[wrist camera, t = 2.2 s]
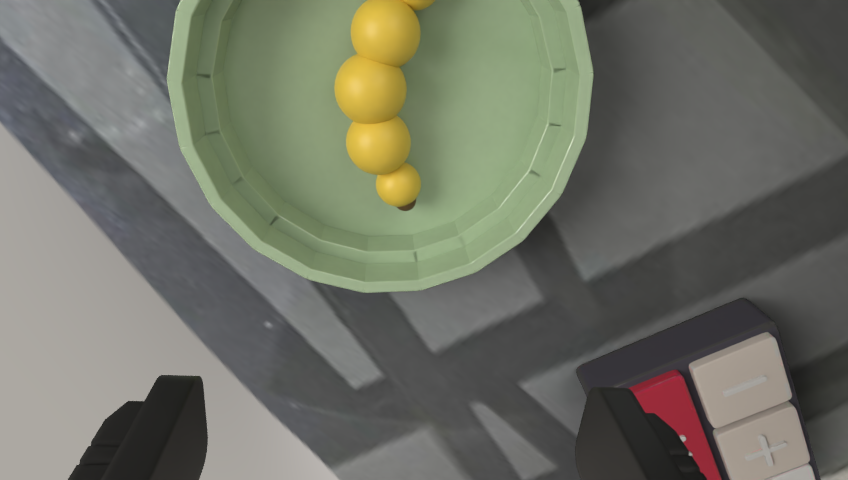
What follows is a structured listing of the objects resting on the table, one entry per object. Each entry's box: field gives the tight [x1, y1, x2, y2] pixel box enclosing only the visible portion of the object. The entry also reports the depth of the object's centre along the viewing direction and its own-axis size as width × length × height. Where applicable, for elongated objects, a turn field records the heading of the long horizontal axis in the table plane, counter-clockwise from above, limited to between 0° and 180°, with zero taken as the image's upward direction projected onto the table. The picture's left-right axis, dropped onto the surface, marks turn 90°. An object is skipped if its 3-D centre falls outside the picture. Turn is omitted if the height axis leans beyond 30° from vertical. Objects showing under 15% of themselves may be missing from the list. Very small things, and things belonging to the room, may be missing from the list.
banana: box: [334, 0, 435, 211], centre depth 26 cm, size 12×4×3 cm, turn 174°
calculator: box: [576, 298, 821, 480], centre depth 36 cm, size 11×4×15 cm
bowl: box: [167, 0, 594, 293], centre depth 26 cm, size 17×17×4 cm
